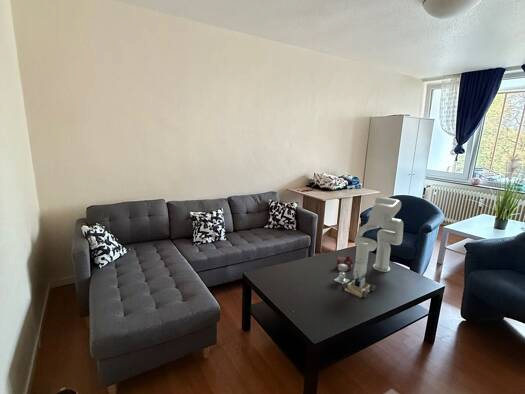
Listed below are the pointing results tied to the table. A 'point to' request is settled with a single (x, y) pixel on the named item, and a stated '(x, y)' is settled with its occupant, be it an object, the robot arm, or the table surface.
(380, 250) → the robot arm
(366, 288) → the birch chassis
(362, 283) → the block
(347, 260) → the toy fire truck
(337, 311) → the table surface
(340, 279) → the grey square pedestal base
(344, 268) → the wheel hub
